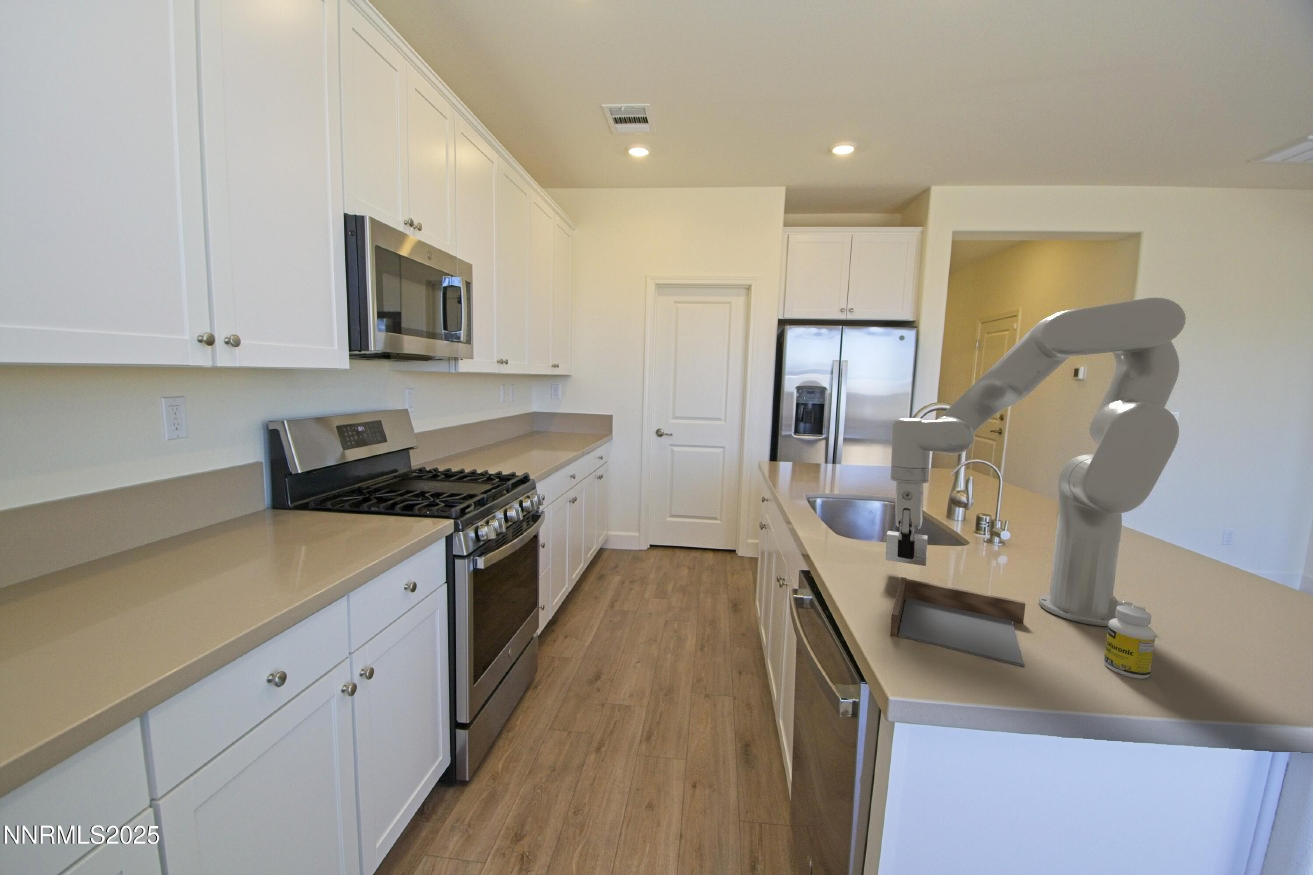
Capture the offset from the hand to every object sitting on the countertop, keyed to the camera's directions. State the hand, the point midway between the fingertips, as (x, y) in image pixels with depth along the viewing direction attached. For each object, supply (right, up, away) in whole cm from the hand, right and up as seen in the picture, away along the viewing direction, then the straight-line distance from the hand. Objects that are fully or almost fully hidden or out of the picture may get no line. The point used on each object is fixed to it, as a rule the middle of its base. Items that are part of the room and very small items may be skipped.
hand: (906, 554), depth 113 cm
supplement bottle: (+18, -11, -33) cm, 39 cm away
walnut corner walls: (-1, -9, -21) cm, 23 cm away
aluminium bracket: (+1, -1, +3) cm, 3 cm away
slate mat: (-1, -9, -21) cm, 23 cm away
